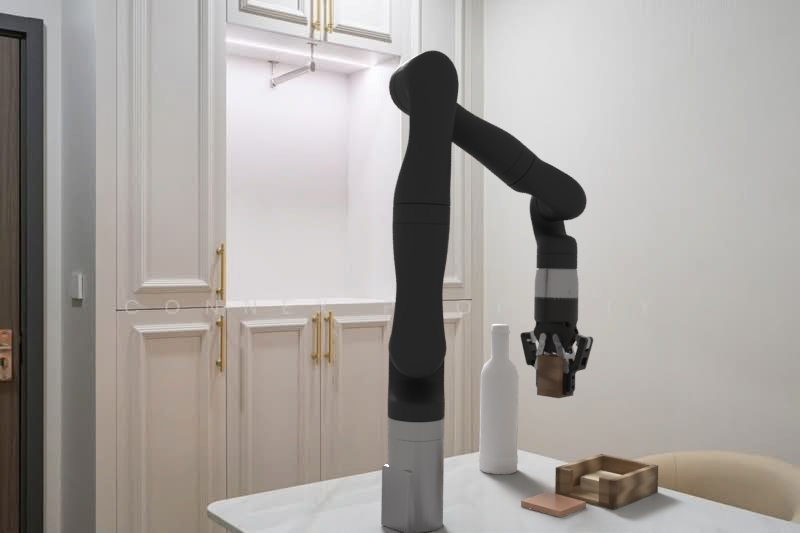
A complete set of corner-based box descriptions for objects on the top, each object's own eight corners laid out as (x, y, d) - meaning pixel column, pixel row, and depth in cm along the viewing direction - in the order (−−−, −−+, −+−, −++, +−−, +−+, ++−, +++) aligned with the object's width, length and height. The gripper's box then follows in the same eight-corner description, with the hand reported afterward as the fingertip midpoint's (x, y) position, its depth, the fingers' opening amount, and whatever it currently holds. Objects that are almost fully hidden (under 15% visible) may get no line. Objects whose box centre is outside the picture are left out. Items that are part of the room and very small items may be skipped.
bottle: (476, 473, 154) (479, 325, 155) (480, 463, 162) (482, 322, 162) (516, 476, 153) (519, 326, 153) (518, 466, 161) (520, 323, 161)
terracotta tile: (559, 517, 127) (560, 511, 127) (520, 506, 133) (521, 500, 133) (585, 507, 133) (585, 501, 133) (547, 497, 139) (547, 491, 139)
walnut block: (573, 395, 133) (573, 355, 133) (558, 398, 130) (559, 357, 130) (551, 392, 136) (552, 353, 136) (536, 395, 133) (537, 354, 133)
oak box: (613, 509, 132) (614, 481, 132) (555, 494, 141) (555, 467, 141) (657, 492, 143) (658, 465, 143) (601, 478, 152) (601, 453, 152)
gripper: (604, 296, 131) (602, 395, 131) (535, 293, 141) (533, 386, 141) (580, 296, 126) (578, 400, 125) (510, 293, 136) (508, 390, 136)
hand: (554, 392), depth 133 cm, fingers closed on walnut block, 4 cm apart
